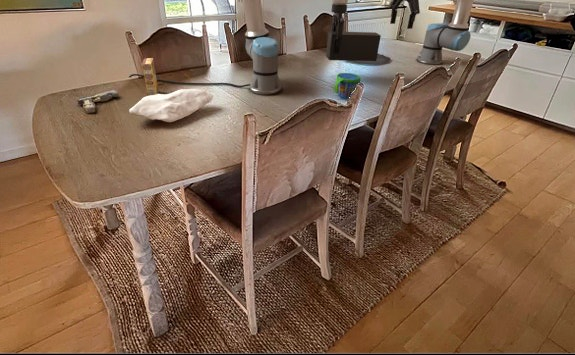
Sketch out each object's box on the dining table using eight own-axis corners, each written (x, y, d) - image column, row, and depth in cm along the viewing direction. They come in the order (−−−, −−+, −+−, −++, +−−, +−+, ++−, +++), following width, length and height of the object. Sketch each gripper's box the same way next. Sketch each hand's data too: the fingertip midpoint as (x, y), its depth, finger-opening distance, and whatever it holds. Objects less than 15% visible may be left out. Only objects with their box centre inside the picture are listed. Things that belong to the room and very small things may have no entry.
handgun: (128, 97, 156) (111, 87, 164) (86, 107, 144) (70, 97, 152) (129, 103, 157) (113, 94, 165) (88, 114, 146) (72, 103, 154)
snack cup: (350, 91, 181) (353, 70, 175) (365, 97, 173) (368, 76, 168) (326, 96, 173) (328, 75, 168) (340, 103, 166) (343, 81, 160)
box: (329, 60, 190) (331, 34, 183) (326, 56, 197) (328, 31, 190) (376, 61, 193) (380, 35, 186) (371, 57, 200) (376, 32, 193)
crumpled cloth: (117, 110, 146) (113, 90, 140) (195, 92, 166) (194, 73, 160) (143, 139, 134) (140, 118, 128) (223, 116, 154) (224, 96, 148)
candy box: (157, 97, 164) (152, 63, 155) (147, 98, 163) (141, 63, 155) (158, 91, 171) (153, 57, 163) (149, 91, 170) (143, 58, 162)
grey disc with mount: (401, 60, 233) (403, 45, 228) (362, 67, 215) (363, 51, 211) (362, 51, 258) (364, 38, 253) (324, 57, 240) (325, 42, 236)
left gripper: (352, 7, 171) (346, 56, 183) (342, 1, 189) (336, 46, 201) (337, 6, 170) (331, 56, 183) (328, 0, 188) (323, 46, 200)
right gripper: (434, -18, 169) (423, 30, 180) (399, -23, 188) (391, 21, 199) (421, -19, 166) (411, 31, 177) (387, -23, 185) (380, 22, 196)
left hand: (334, 51), depth 192 cm, fingers closed on box, 8 cm apart
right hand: (400, 26), depth 188 cm, fingers open, 13 cm apart
